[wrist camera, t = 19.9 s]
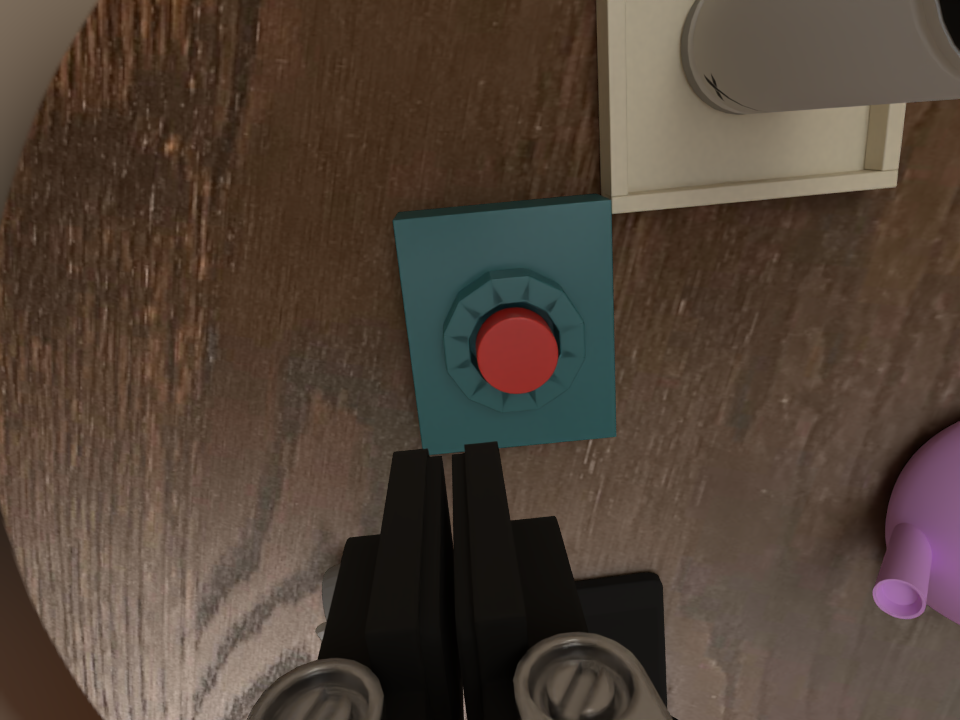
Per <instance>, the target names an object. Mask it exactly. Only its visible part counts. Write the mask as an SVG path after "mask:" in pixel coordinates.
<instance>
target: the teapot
mask: <svg viewBox="0 0 960 720" xmlns="http://www.w3.org/2000/svg"><path fill="white" fill-rule="evenodd" d="M885 540H886V547H887V550H886V553H885V556H884V559H883V562H882V565H881V568H880V571H879V574H878V577H877V580H876V583H875V586H874V589H873V598H874V601H875V603H876V604H877V605H878V607H879V608H880V609H881V610H883V611H884V612H885V613H887V614H889V615H891V616H893V617H896V618H900V619H912V618H916V617H918V616H920V615H921V614H922V613H923V612H924V610H925V608H926V604H927V605H928V606H930V607H931V608H933V609H934V610H936V611H937V612H939V613H940V614H942V615H943V616H945V617H946V618H948V619H950V620H952V621H953V622H955V623H957V624H959V625H960V421H958V422H957V423H954V424H953V425H951V426H949V427H947V428H945V429H944V430H942V431H941V432H939V433H938V434H936V435H935V436H933V437H932V438H931V439H929V440H928V441H927V442H926V443H925V444H924V445H922V446H921V447H920V448H919V449H918V451H917V452H916V453H915V454H914V455H913V456H912V457H911V458H910V460H909V461H908V462H907V464H906V465H905V466H904V468H903V470H902V471H901V473H900V475H899V477H898V479H897V481H896V483H895V485H894V488H893V490H892V494H891V497H890V500H889V504H888V509H887V515H886V523H885Z"/></svg>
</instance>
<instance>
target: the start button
mask: <svg viewBox="0 0 960 720" xmlns="http://www.w3.org/2000/svg"><path fill="white" fill-rule="evenodd" d="M476 355H477V363H478V367H479V370H480V372H481V374H482V376H483V377H484V379H485V380H486V381H487V382H488V383H489V384H490V385H491V386H493V387H494V388H496V389H498V390H500V391H503V392H506V393H511V394H522V393H527V392H530V391H533V390H535V389H537V388H539V387H540V386H542V385H543V384H544V383H545V382H547V381H548V379H549V378H550V377H551V376H552V374H553V372H554V370H555V368H556V366H557V362H558V346H557V342H556V340H555V337H554V335H553V333H552V331H551V329H550V327H549V326H548V324H547V323H546V321H545V320H544V319H543V318H542V317H541V316H540V315H538V314H537V313H535V312H533V311H531V310H529V309H525V308H520V307H511V308H506V309H502V310H500V311H497V312H496V313H494V314H492V315H491V316H490V317H488V318H487V319H486V320H485V322H484V323H483V324H482V326H481V327H480V329H479V331H478V334H477V338H476Z"/></svg>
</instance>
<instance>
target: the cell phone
mask: <svg viewBox="0 0 960 720" xmlns="http://www.w3.org/2000/svg"><path fill="white" fill-rule="evenodd" d="M575 585H576V589H577V592H578V596H579V599H580V603H581V606H582V610H583V614H584V617H585V621H586V624H587V628H588V631H589V633H592V634H598V635H601V636H604V637H606V638H609V639H612V640H614V641H616V642H618V643H619V644H621V645H622V646H624V647H625V648H626V649H628V650H629V651H631V652H632V653H633V655H634V656H635V657H636V658H637V660H638V661H639V662H640V663H641V665H642V666H643V667H644V669H645V671H646V673H647V674H648V676H649V678H650V680H651V682H652V683H653V685H654V687H655V689H656V690H657V692H658V694H659V696H660V698H661V699H662V701H663V703H664V705H665V706H666V708H667V689H666V662H665V634H664V607H663V586H662V583H661V581H660V579H659V577H658V575H657V574H655V573H637V574H630V575H622V576H614V577H606V578H599V579H591V580H583V581H576V582H575Z"/></svg>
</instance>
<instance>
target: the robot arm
mask: <svg viewBox="0 0 960 720" xmlns="http://www.w3.org/2000/svg"><path fill="white" fill-rule="evenodd" d="M464 448H465V453H464V454H454V455H452V486H453V540H454V549H453V541H452V533H451V525H450V516H449V508H448V500H447V492H446V484H445V476H444V468H443V461H442V456H435V457H430V456H429V451H428V448H426V449H417V450H407V451H397V452H394V453H393V458H392V464H391V471H390V477H389V483H388V490H387V496H386V502H385V508H384V515H383V521H382V527H381V534H379V535H369V536H360V537H350V538H348V539H347V541H346V544H345V547H344V551H343V555H342V560H341V564H340V568H339V572H338V576H337V581H336V585H335V589H334V593H333V597H332V602H331V606H330V610H329V614H328V618H327V622H326V627H325V631H324V635H323V639H322V643H321V648H320V652H319V656H318V660H316V661H313V662H310V663H307V664H304V665H301V666H298V667H296V668H295V669H293V670H291V671H290V672H288V673H286V674H285V675H283V676H281V677H280V678H278V679H277V680H276V681H275V682H274V683H273V684H272V685H271V686H270V687H269V688H267V689H266V690H265V691H264V692H263V694H262V695H261V697H260V698H259V700H258V701H257V702H256V704H255V705H254V707H253V708H252V710H251V712H250V714H249V716H248V718H247V720H464V709H463V690H464V698H465V706H466V713H467V720H678V719H676V718H674V717H672V716H671V715H670V713H669V712H668V710H667V708H666V706H665V705H664V703H663V701H662V699H661V698H660V696H659V694H658V692H657V690H656V689H655V687H654V685H653V683H652V682H651V680H650V678H649V676H648V674H647V673H646V671H645V669H644V667H643V666H642V665H641V663H640V662H639V661H638V660H637V658H636V657H635V656H634V655H633V653H632V652H631V651H629V650H628V649H626V648H625V647H624V646H622V645H621V644H619V643H618V642H616V641H614V640H612V639H609V638H606V637H604V636H601V635H598V634H592V633H589V631H588V628H587V624H586V621H585V617H584V614H583V610H582V606H581V603H580V599H579V596H578V592H577V589H576V585H575V581H574V578H573V574H572V571H571V567H570V564H569V560H568V557H567V553H566V549H565V546H564V542H563V539H562V535H561V532H560V528H559V525H558V521H557V519H556V517H555V516H550V517H540V518H531V519H521V520H512V521H510V515H509V509H508V503H507V496H506V490H505V484H504V478H503V472H502V466H501V460H500V453H499V447H498V442H497V441H494V442H484V443H475V444H465V445H464Z"/></svg>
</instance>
